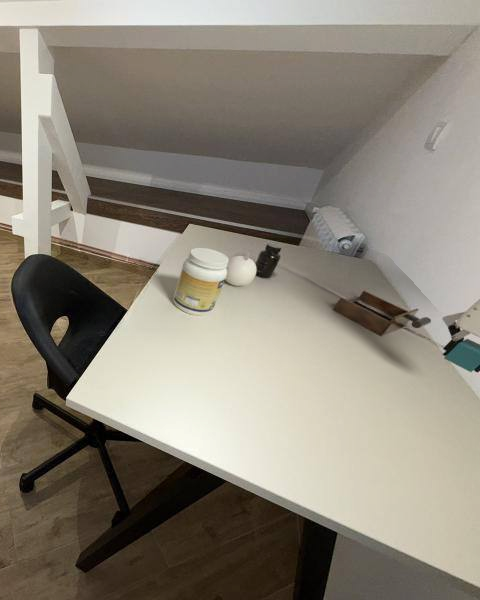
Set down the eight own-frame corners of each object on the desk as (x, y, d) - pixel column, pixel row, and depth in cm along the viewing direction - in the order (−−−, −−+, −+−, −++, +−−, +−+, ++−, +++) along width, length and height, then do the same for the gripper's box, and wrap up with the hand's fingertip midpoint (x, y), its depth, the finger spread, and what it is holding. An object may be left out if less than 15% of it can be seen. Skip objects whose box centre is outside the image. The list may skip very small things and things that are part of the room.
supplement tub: (214, 320, 90) (236, 268, 80) (172, 311, 91) (188, 260, 82) (210, 298, 100) (229, 250, 90) (171, 291, 101) (186, 242, 92)
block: (479, 366, 68) (495, 351, 65) (470, 372, 66) (487, 357, 64) (452, 353, 71) (467, 338, 69) (443, 358, 69) (458, 343, 67)
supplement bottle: (259, 269, 122) (272, 240, 115) (274, 277, 117) (289, 248, 110) (247, 271, 119) (260, 242, 112) (262, 280, 114) (277, 250, 107)
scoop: (422, 335, 93) (439, 317, 89) (399, 346, 87) (416, 326, 83) (356, 302, 106) (368, 284, 103) (332, 309, 101) (344, 291, 97)
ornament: (251, 294, 105) (266, 262, 98) (219, 287, 107) (232, 255, 100) (247, 280, 113) (260, 250, 106) (217, 274, 115) (229, 244, 108)
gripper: (615, 313, 54) (524, 384, 64) (480, 269, 66) (422, 334, 76) (604, 322, 51) (511, 395, 61) (465, 274, 63) (407, 342, 73)
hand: (462, 361), depth 68 cm, fingers closed on block, 4 cm apart
